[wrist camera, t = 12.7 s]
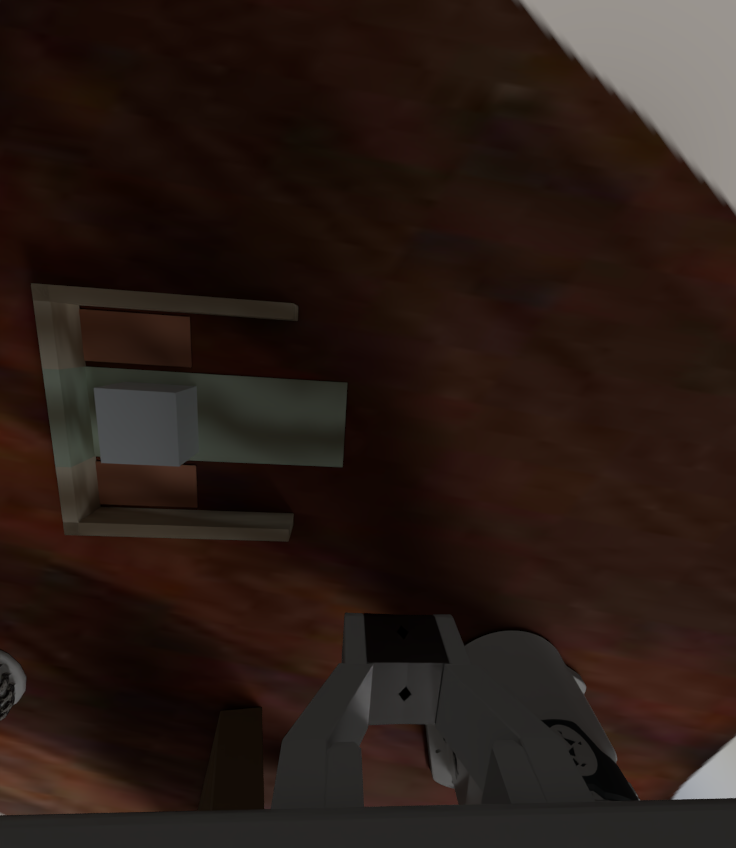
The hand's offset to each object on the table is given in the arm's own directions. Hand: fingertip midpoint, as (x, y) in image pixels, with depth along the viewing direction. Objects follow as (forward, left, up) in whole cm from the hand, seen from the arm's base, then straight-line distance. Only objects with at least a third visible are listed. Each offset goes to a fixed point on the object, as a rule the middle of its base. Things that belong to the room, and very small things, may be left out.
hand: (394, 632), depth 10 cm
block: (0, +18, -24) cm, 30 cm away
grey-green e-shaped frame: (0, +13, -24) cm, 27 cm away
